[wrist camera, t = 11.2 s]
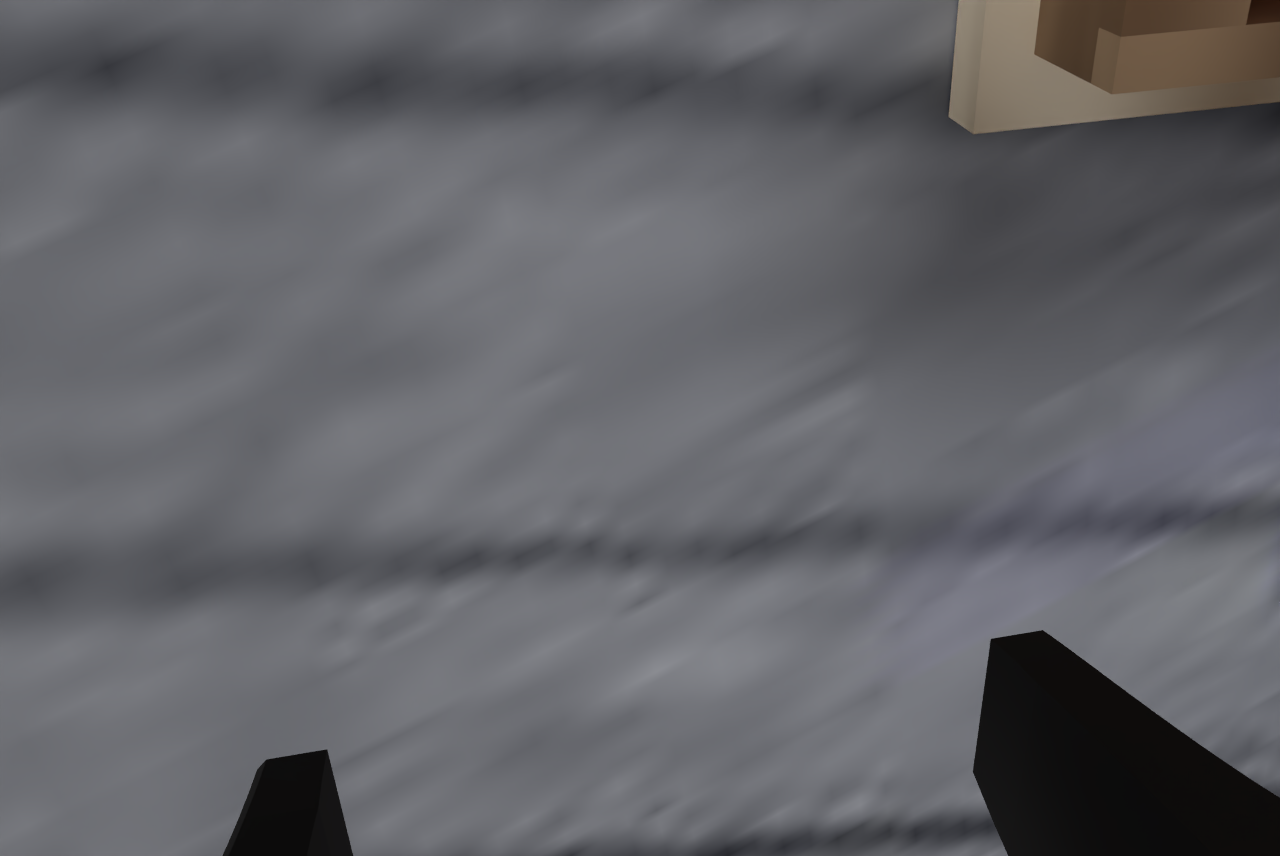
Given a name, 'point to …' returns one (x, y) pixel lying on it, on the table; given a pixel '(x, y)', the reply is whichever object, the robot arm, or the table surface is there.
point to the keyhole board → (1109, 59)
